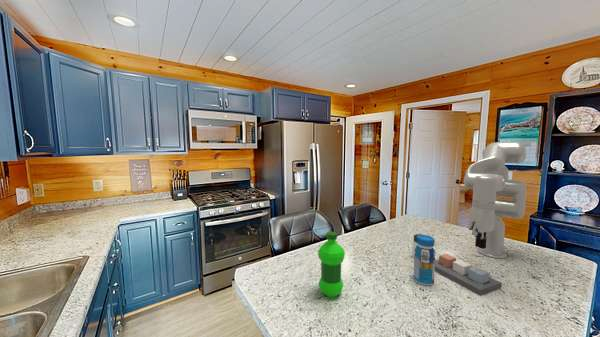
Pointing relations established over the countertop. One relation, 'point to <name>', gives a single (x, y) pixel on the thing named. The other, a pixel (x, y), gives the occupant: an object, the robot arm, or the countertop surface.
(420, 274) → the beverage bottle
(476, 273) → the slate key
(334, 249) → the plastic bottle
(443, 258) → the brick key
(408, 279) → the countertop surface
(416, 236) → the jar
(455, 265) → the ivory key
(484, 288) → the slotted grey plate
